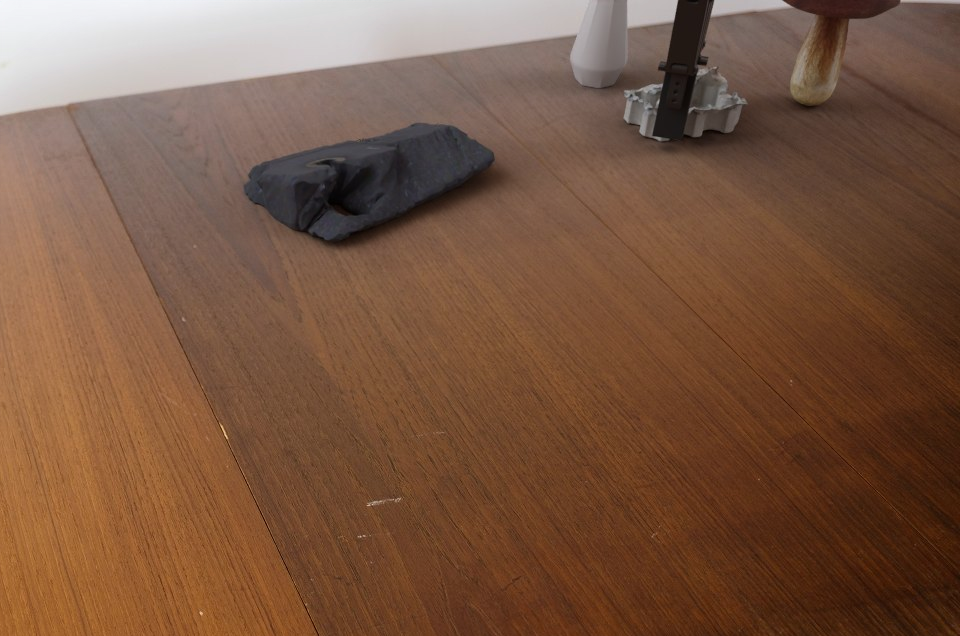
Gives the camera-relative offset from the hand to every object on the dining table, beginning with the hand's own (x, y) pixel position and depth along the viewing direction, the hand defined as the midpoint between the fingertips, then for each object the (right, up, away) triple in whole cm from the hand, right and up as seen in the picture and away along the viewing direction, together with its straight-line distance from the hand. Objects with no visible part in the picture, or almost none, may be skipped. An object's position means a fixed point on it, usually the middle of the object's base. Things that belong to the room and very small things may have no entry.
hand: (667, 135), depth 118 cm
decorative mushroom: (+17, +5, +8) cm, 19 cm away
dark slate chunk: (-29, -6, -3) cm, 29 cm away
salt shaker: (-3, +9, +14) cm, 17 cm away
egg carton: (+3, +2, +5) cm, 6 cm away
